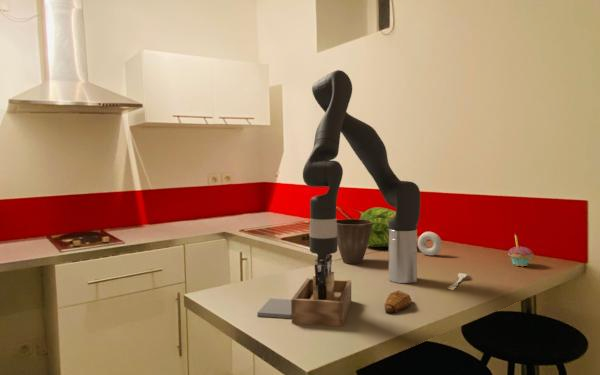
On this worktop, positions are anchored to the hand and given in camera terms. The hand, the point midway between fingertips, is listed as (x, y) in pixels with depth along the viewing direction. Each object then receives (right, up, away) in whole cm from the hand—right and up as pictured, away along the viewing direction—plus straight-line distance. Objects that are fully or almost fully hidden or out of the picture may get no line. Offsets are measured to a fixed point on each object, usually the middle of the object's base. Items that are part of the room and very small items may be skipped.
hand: (324, 295), depth 125 cm
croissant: (+21, -4, +2) cm, 21 cm away
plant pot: (+14, 0, +55) cm, 57 cm away
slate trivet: (-12, -4, +1) cm, 13 cm away
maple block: (0, -1, 0) cm, 1 cm away
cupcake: (+76, 0, +46) cm, 89 cm away
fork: (+46, -2, +25) cm, 52 cm away
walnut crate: (0, -4, -1) cm, 4 cm away
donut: (+47, +1, +64) cm, 80 cm away
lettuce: (+31, +2, +81) cm, 87 cm away
